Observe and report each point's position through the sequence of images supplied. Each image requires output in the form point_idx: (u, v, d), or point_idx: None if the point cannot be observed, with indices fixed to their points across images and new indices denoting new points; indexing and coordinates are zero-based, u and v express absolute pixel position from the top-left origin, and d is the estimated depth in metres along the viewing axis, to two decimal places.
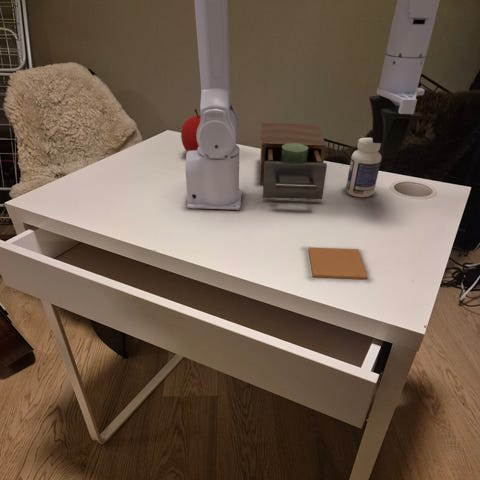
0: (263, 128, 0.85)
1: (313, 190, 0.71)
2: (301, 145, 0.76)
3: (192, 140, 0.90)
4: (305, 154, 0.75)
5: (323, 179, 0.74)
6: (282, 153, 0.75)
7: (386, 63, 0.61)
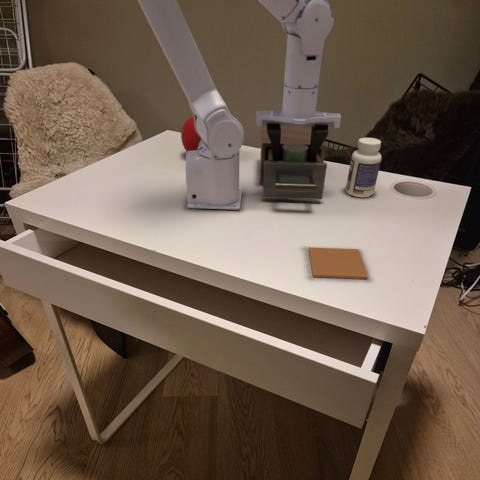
0: (263, 128, 0.85)
1: (313, 190, 0.71)
2: (302, 144, 0.76)
3: (192, 140, 0.90)
4: (305, 154, 0.75)
5: (323, 179, 0.74)
6: (282, 153, 0.75)
7: None
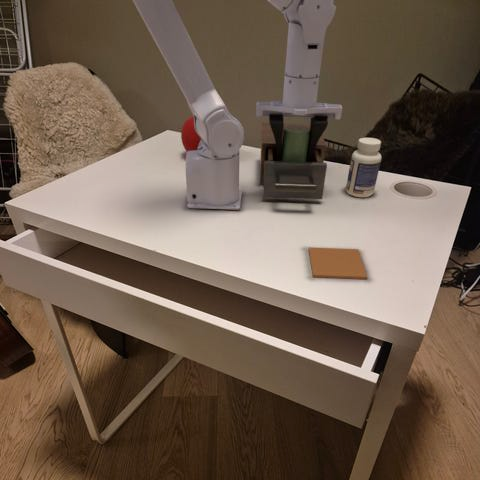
0: (263, 128, 0.85)
1: (313, 190, 0.71)
2: (304, 127, 0.74)
3: (192, 140, 0.90)
4: (307, 136, 0.73)
5: (323, 179, 0.74)
6: (284, 135, 0.73)
7: None
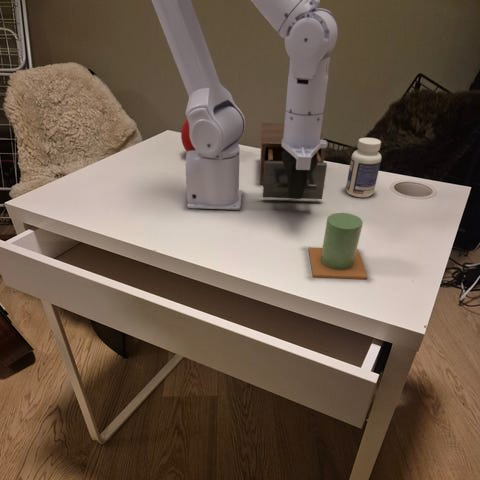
0: (263, 128, 0.85)
1: (313, 190, 0.71)
2: (353, 216, 0.58)
3: None
4: (359, 231, 0.56)
5: (323, 179, 0.74)
6: (328, 228, 0.57)
7: (286, 118, 0.62)
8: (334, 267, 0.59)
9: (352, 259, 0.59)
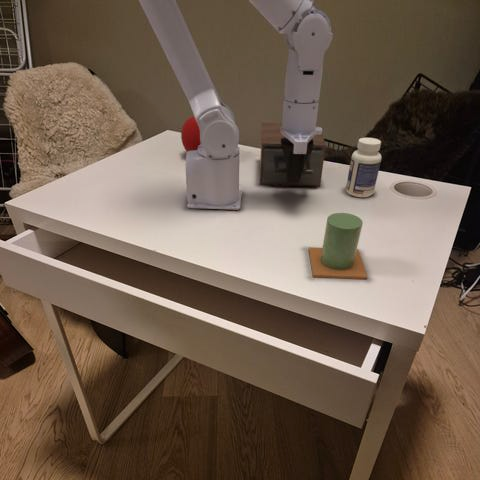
0: (263, 128, 0.85)
1: (310, 175, 0.76)
2: (353, 216, 0.58)
3: (192, 140, 0.90)
4: (359, 231, 0.56)
5: (319, 165, 0.79)
6: (328, 228, 0.57)
7: (284, 107, 0.68)
8: (334, 267, 0.59)
9: (352, 259, 0.59)
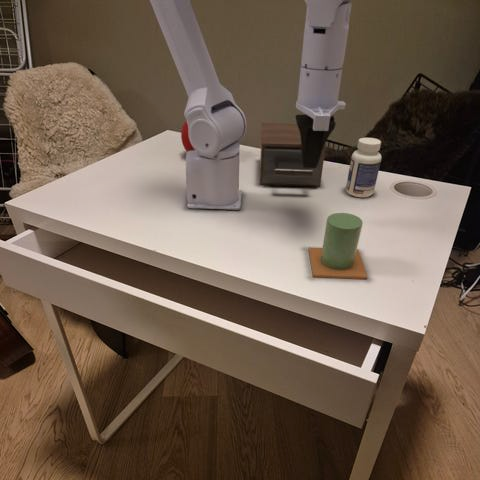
0: (263, 128, 0.85)
1: (310, 175, 0.76)
2: (353, 216, 0.58)
3: None
4: (359, 231, 0.56)
5: (319, 165, 0.79)
6: (328, 228, 0.57)
7: (301, 75, 0.57)
8: (334, 267, 0.59)
9: (352, 259, 0.59)
